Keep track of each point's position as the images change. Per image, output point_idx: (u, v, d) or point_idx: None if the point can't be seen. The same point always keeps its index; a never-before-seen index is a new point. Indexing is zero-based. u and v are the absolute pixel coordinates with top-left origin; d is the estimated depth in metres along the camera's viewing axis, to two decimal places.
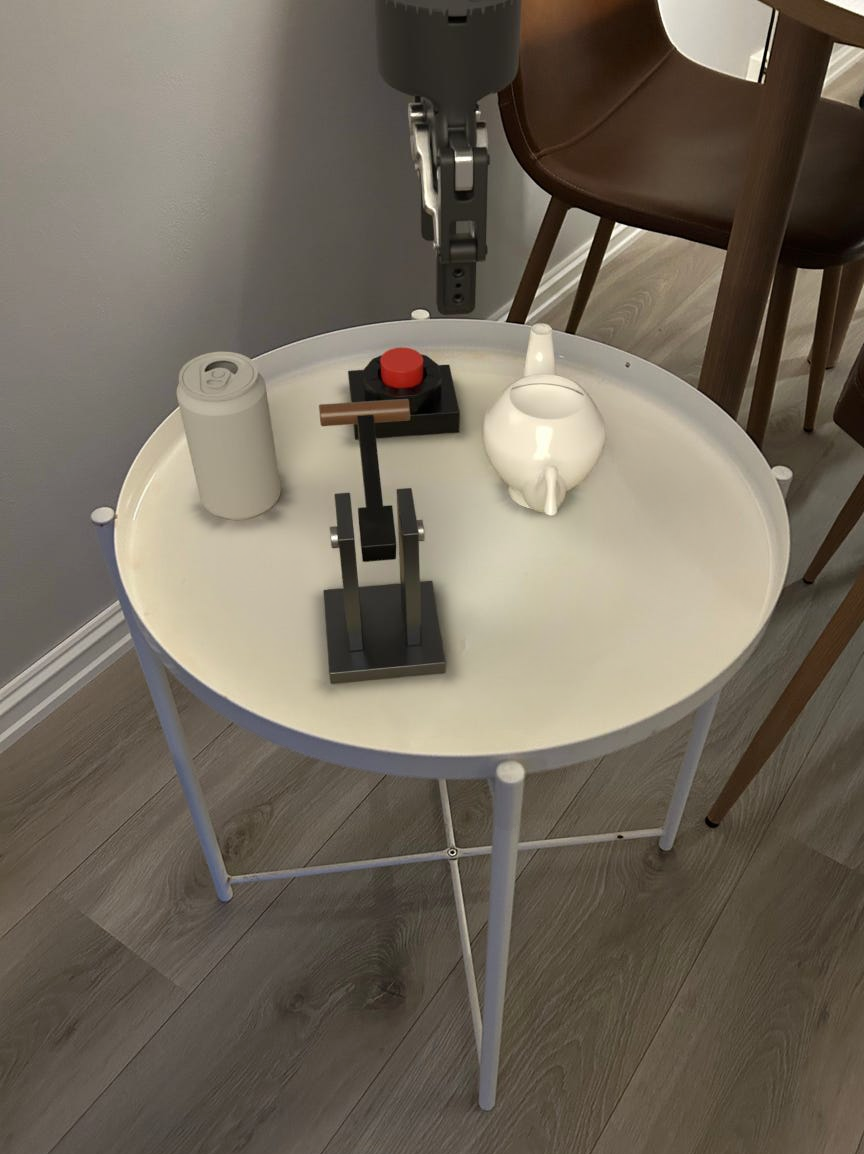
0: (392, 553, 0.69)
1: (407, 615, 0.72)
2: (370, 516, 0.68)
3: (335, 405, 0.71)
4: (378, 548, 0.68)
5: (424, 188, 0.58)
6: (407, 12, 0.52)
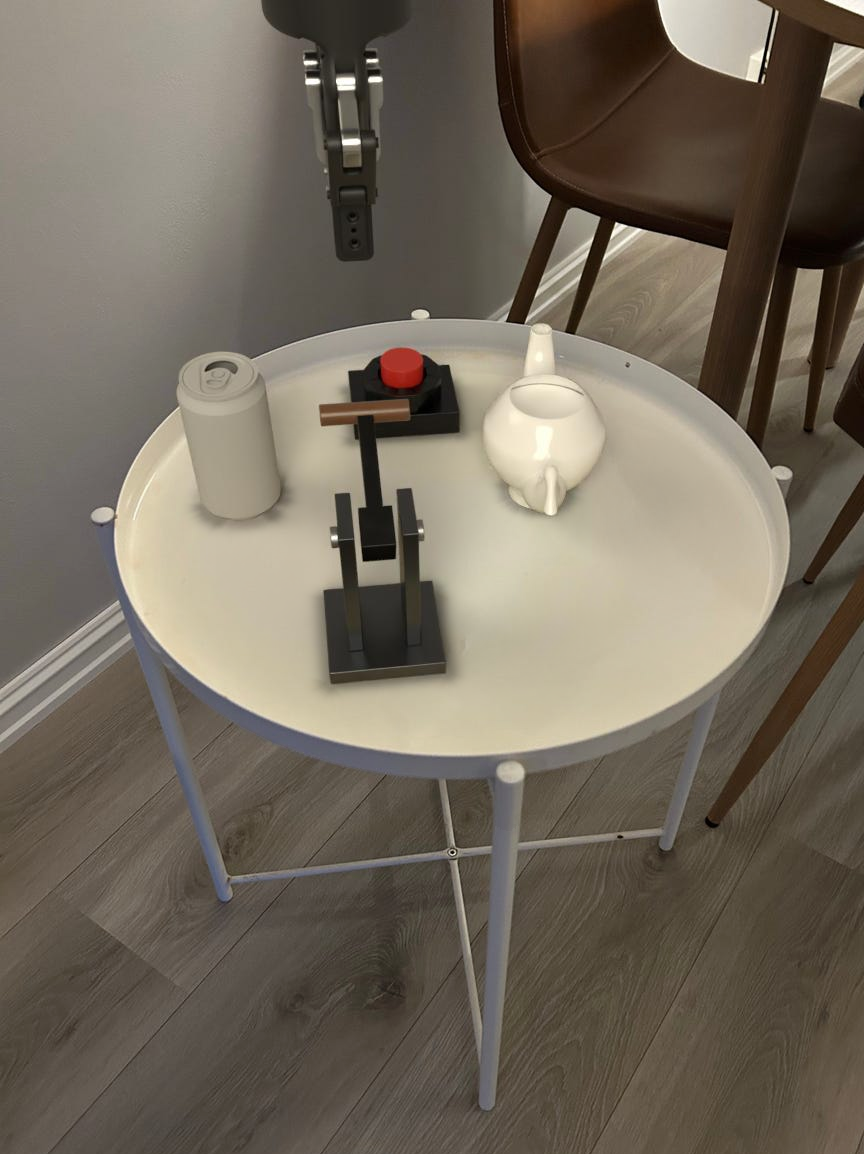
0: (392, 553, 0.69)
1: (407, 615, 0.72)
2: (370, 516, 0.68)
3: (335, 405, 0.71)
4: (378, 548, 0.68)
5: (316, 143, 0.57)
6: None
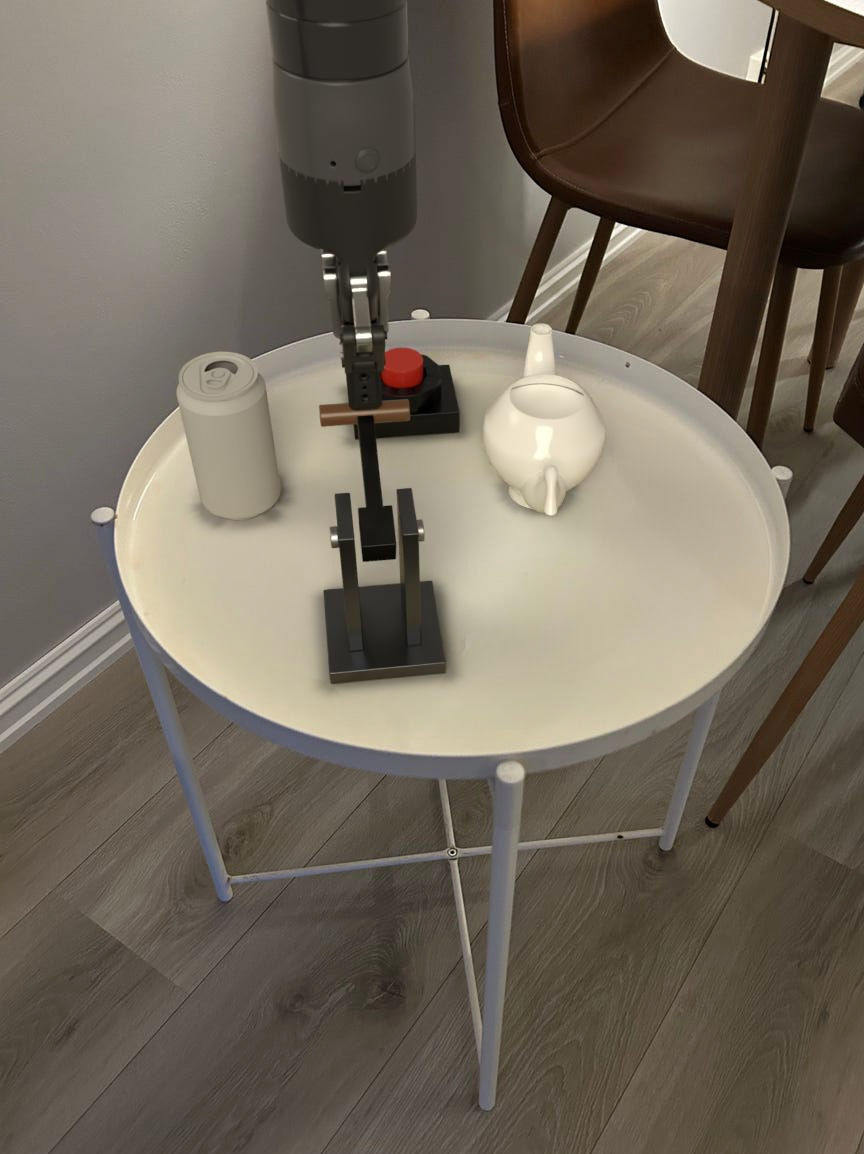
0: (392, 553, 0.69)
1: (407, 615, 0.72)
2: (370, 515, 0.68)
3: (335, 405, 0.71)
4: (378, 547, 0.68)
5: (332, 323, 0.65)
6: (307, 181, 0.57)
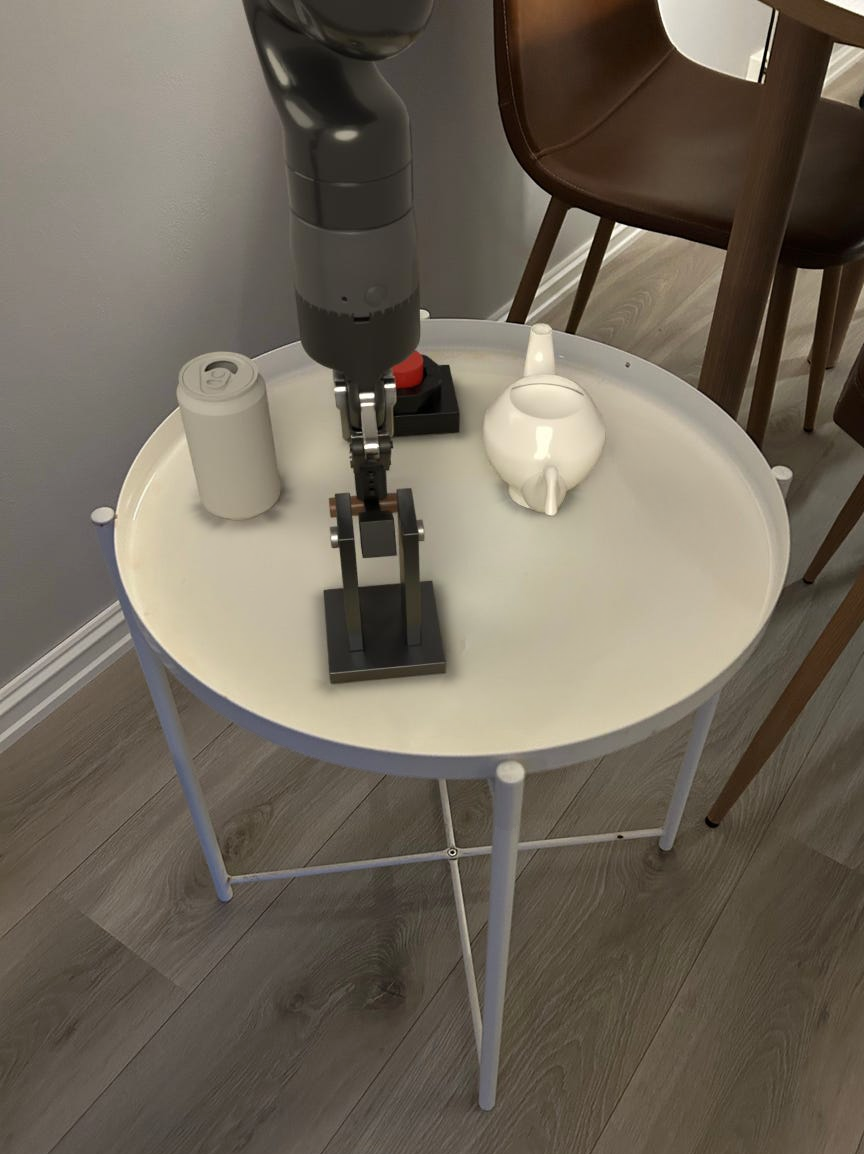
0: (391, 540, 0.68)
1: (407, 615, 0.72)
2: (370, 513, 0.69)
3: None
4: (377, 525, 0.68)
5: (342, 428, 0.70)
6: (320, 312, 0.62)
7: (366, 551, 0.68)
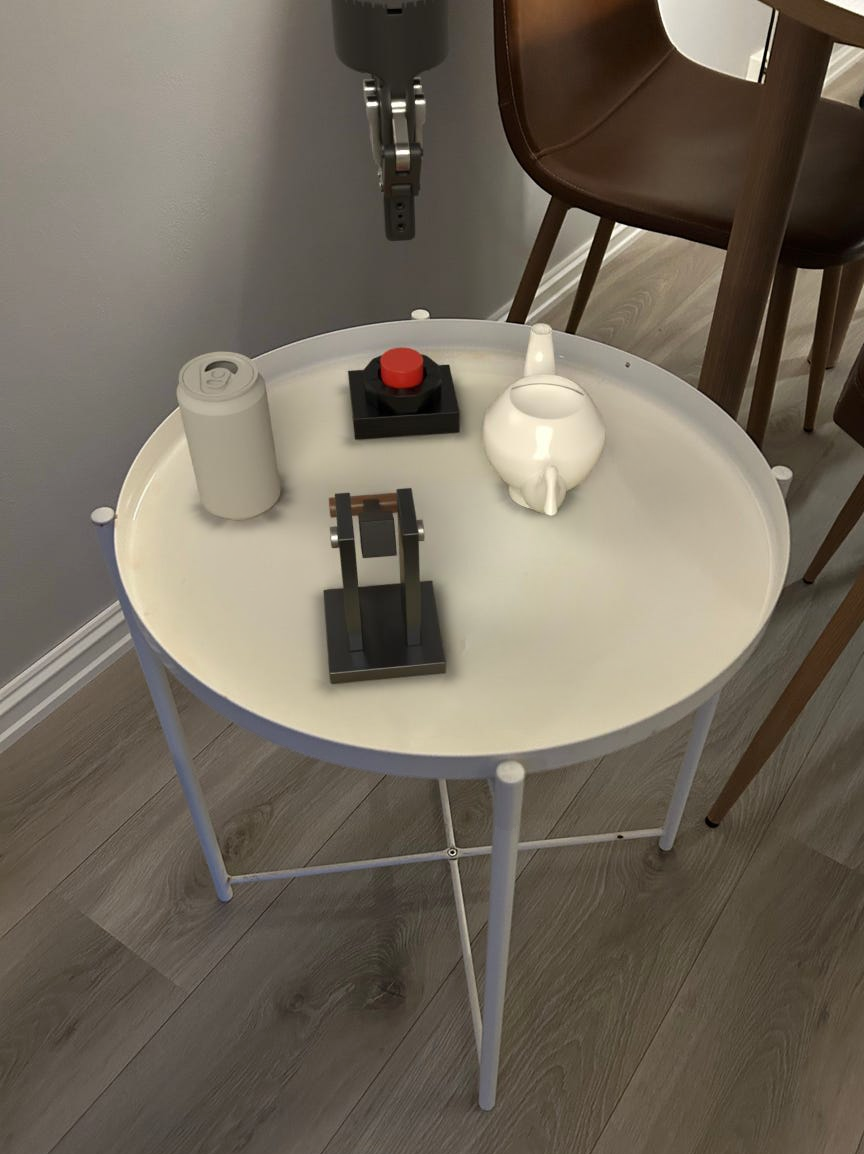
0: (391, 540, 0.68)
1: (407, 615, 0.72)
2: (370, 513, 0.69)
3: None
4: (377, 525, 0.68)
5: (373, 150, 0.73)
6: (355, 5, 0.65)
7: (366, 551, 0.68)
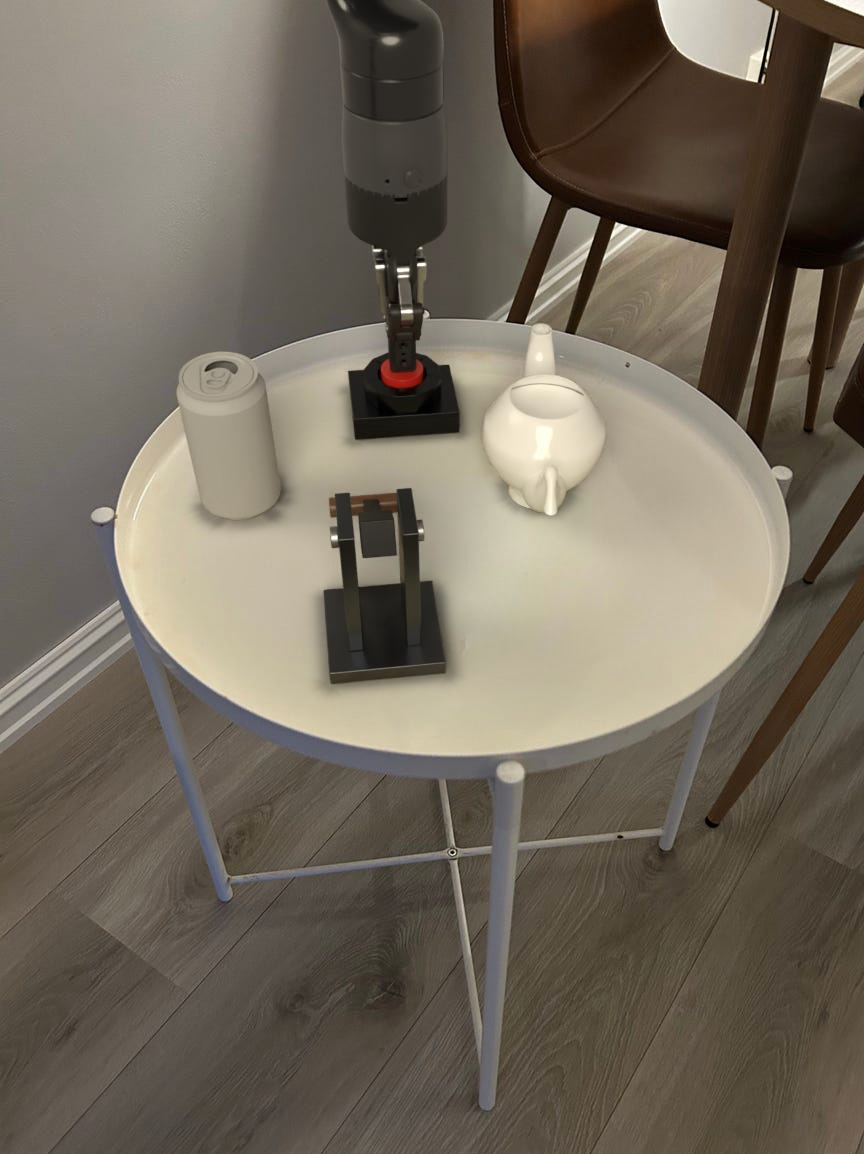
0: (391, 540, 0.68)
1: (407, 615, 0.72)
2: (370, 513, 0.69)
3: None
4: (377, 525, 0.68)
5: (380, 302, 0.84)
6: (367, 194, 0.76)
7: (366, 551, 0.68)
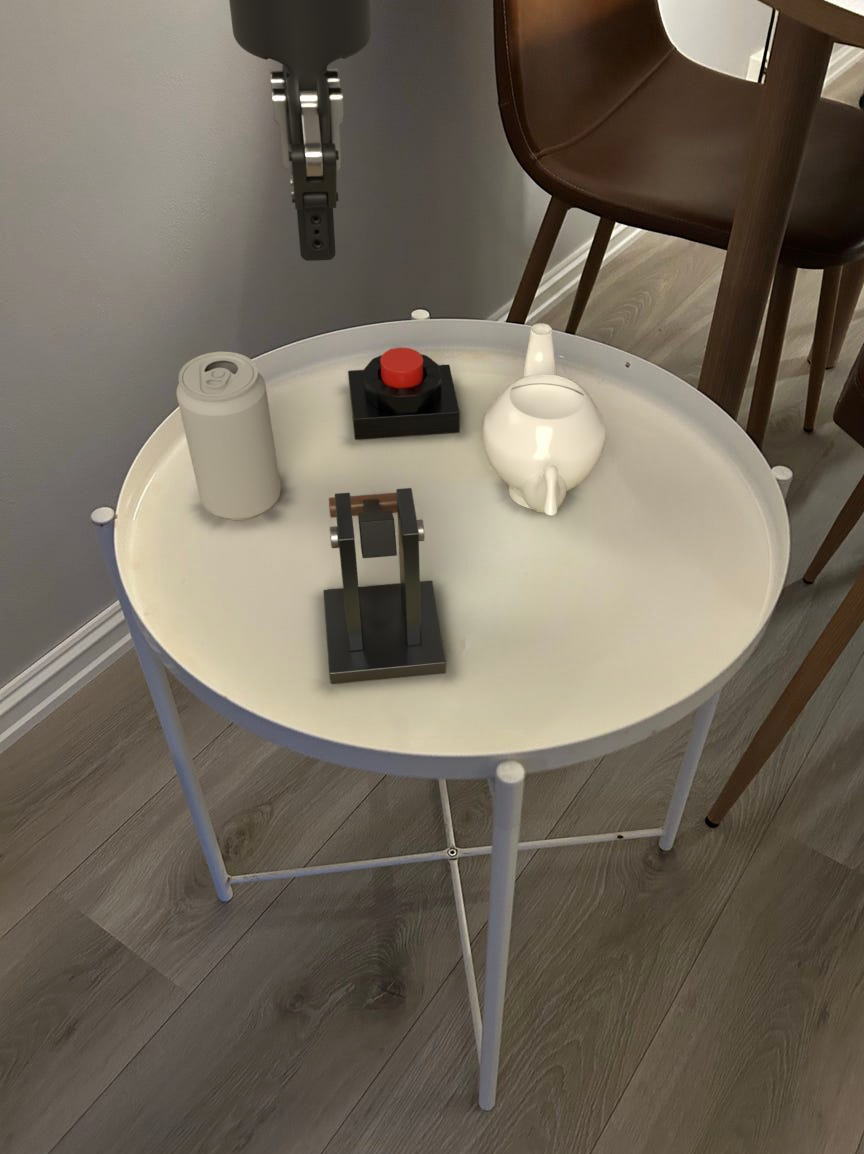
0: (391, 540, 0.68)
1: (407, 615, 0.72)
2: (370, 513, 0.69)
3: None
4: (377, 525, 0.68)
5: (282, 153, 0.62)
6: None
7: (366, 551, 0.68)
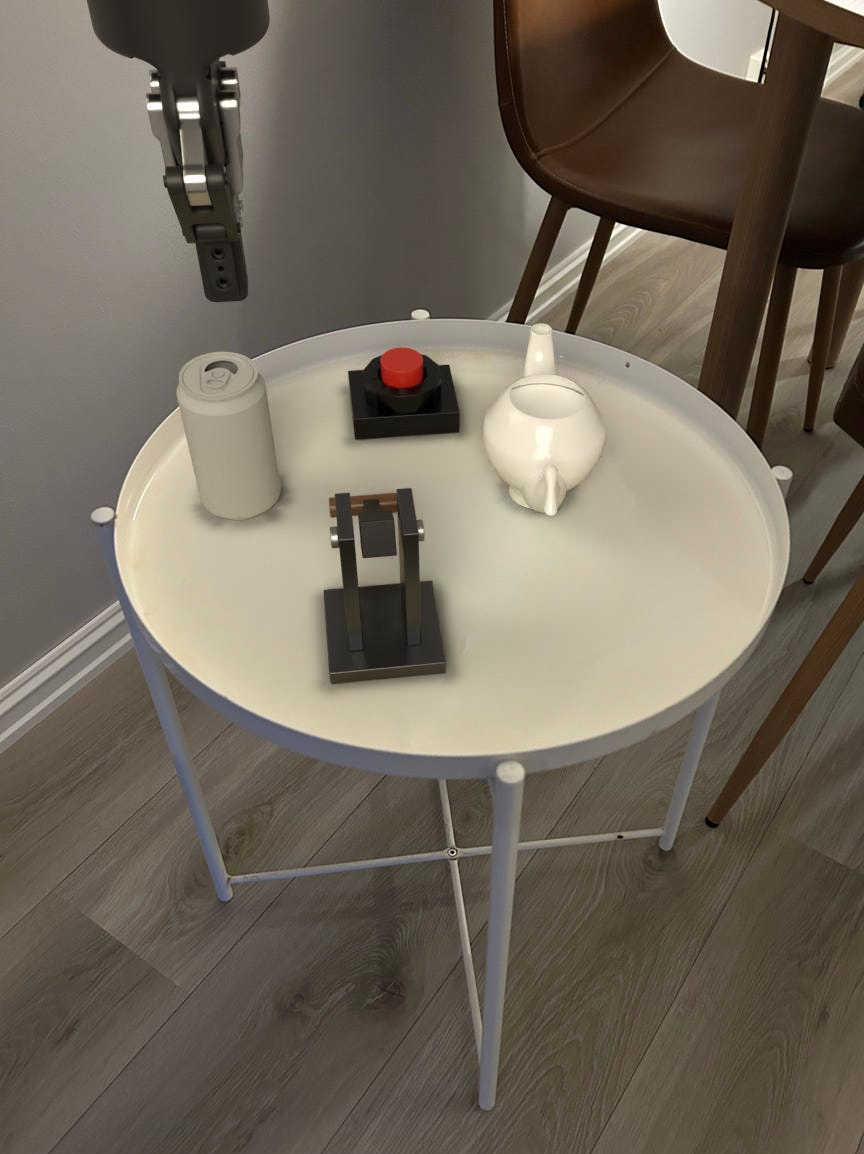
0: (391, 540, 0.68)
1: (407, 615, 0.72)
2: (370, 513, 0.69)
3: None
4: (377, 525, 0.68)
5: None
6: None
7: (366, 551, 0.68)
